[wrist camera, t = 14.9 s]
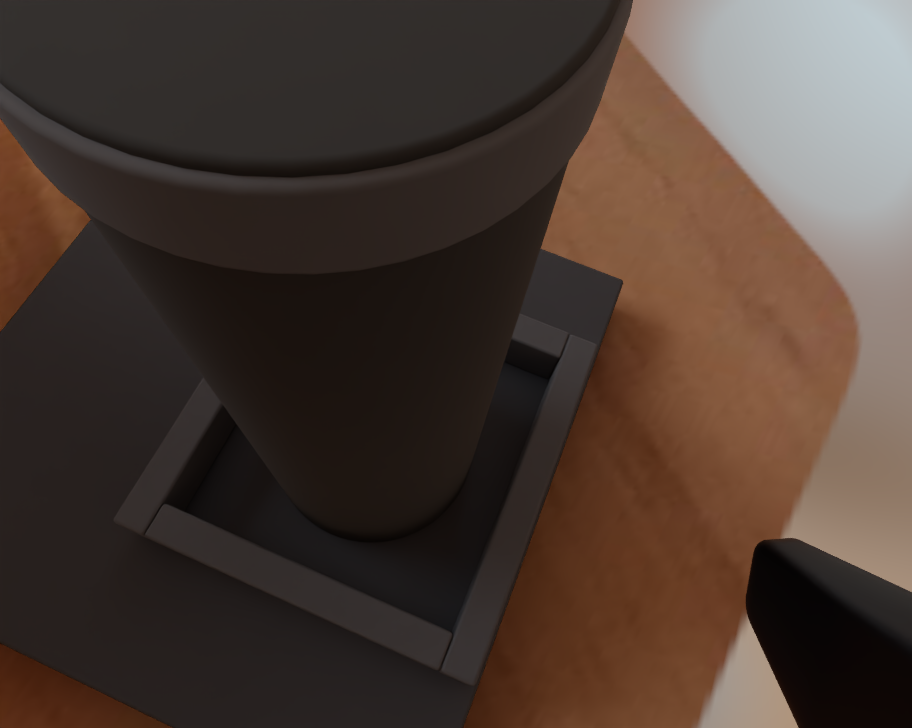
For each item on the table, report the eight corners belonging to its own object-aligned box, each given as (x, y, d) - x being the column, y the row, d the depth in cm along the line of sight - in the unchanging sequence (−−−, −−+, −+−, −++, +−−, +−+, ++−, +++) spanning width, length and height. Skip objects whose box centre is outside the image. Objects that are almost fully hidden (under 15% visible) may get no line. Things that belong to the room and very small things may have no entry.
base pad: (610, 304, 21) (640, 251, 18) (418, 832, 15) (420, 869, 12) (191, 142, 23) (162, 70, 20) (-134, 563, 17) (-240, 544, 14)
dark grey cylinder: (484, 539, 16) (716, 171, 4) (268, 554, 16) (-196, 188, 4) (467, 348, 19) (585, -273, 6) (275, 356, 18) (-5, -300, 6)
